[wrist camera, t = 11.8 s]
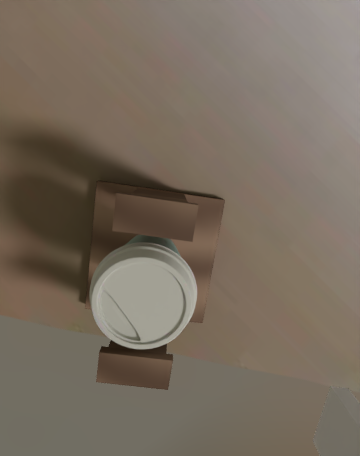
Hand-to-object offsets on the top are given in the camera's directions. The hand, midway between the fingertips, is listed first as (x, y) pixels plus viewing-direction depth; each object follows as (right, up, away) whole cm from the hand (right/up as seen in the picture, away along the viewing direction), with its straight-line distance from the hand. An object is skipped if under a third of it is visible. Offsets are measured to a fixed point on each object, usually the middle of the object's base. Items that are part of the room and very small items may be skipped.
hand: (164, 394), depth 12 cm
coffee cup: (-3, +3, +22) cm, 22 cm away
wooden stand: (-3, +4, +23) cm, 23 cm away
